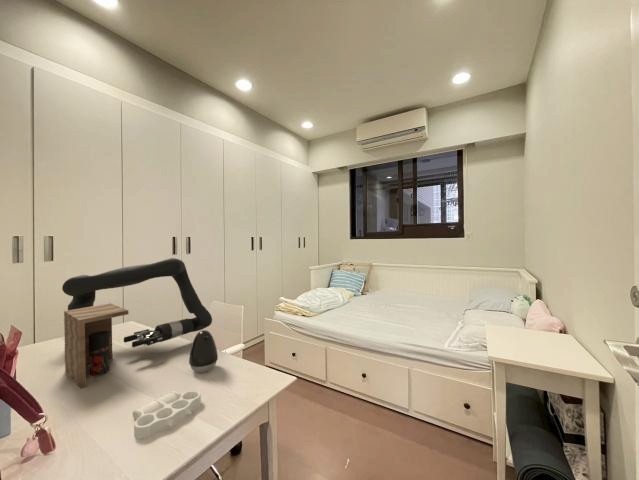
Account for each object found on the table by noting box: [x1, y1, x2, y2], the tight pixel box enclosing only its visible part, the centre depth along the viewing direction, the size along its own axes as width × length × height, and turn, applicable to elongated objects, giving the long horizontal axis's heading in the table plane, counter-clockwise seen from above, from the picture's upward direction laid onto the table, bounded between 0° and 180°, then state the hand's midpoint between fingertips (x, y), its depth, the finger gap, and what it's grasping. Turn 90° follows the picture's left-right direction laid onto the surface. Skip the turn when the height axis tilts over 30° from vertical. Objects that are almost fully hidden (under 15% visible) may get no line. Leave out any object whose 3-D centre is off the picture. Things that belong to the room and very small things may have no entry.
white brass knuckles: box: [132, 390, 202, 440], centre depth 77 cm, size 3×18×15 cm
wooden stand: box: [63, 302, 129, 389], centre depth 103 cm, size 20×14×24 cm
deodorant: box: [88, 331, 111, 377], centre depth 102 cm, size 6×6×15 cm
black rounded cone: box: [188, 329, 219, 374], centre depth 103 cm, size 10×10×15 cm
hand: (128, 342), depth 110 cm, fingers open, 8 cm apart
